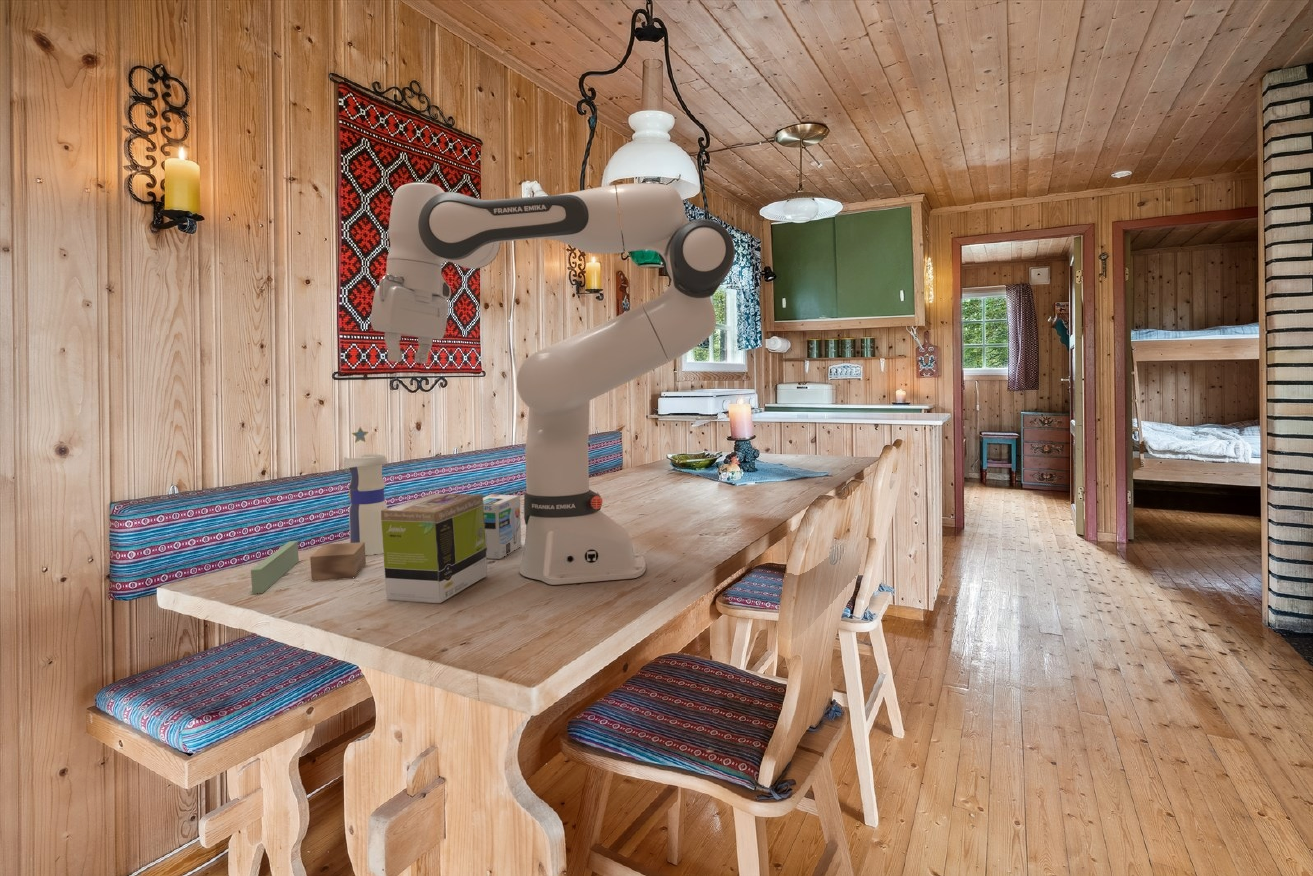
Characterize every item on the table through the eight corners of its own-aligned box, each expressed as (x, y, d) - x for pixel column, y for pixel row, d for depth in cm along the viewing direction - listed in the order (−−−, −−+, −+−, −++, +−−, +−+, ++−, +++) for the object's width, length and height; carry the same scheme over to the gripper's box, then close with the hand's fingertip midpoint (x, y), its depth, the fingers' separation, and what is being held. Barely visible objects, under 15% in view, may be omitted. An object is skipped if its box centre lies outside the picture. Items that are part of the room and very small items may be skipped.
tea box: (437, 573, 121) (434, 491, 120) (488, 577, 119) (486, 493, 118) (383, 600, 107) (379, 507, 106) (440, 605, 104) (436, 509, 103)
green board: (298, 561, 131) (297, 541, 130) (262, 593, 111) (260, 569, 111) (290, 562, 130) (288, 541, 130) (252, 594, 111) (250, 570, 111)
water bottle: (336, 553, 136) (330, 428, 134) (373, 544, 144) (367, 425, 142) (364, 558, 132) (357, 429, 130) (400, 548, 140) (394, 426, 137)
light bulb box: (500, 560, 130) (498, 504, 129) (468, 558, 132) (465, 503, 131) (522, 546, 141) (521, 494, 140) (492, 545, 142) (490, 493, 141)
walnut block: (366, 565, 128) (364, 542, 128) (355, 579, 119) (353, 554, 119) (325, 568, 127) (324, 544, 126) (311, 582, 118) (310, 557, 118)
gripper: (401, 273, 106) (395, 362, 108) (455, 290, 127) (450, 365, 128) (362, 269, 107) (357, 358, 108) (422, 287, 127) (418, 362, 129)
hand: (408, 362), depth 118 cm, fingers open, 8 cm apart
